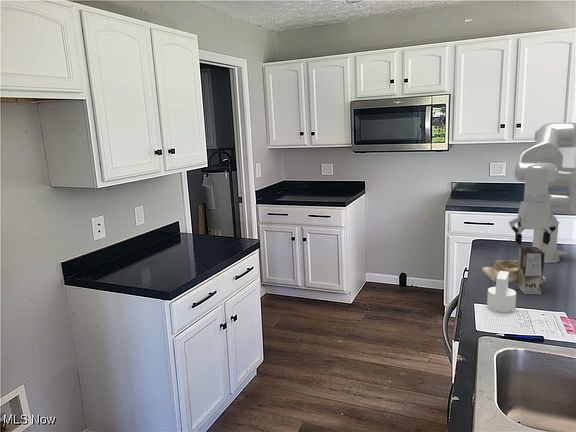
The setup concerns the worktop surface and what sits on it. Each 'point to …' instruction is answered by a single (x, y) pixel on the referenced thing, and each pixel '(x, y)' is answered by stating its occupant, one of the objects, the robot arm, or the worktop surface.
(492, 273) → the holder
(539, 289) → the coffee box
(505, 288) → the cylinder with rectangular tab
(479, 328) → the worktop surface
